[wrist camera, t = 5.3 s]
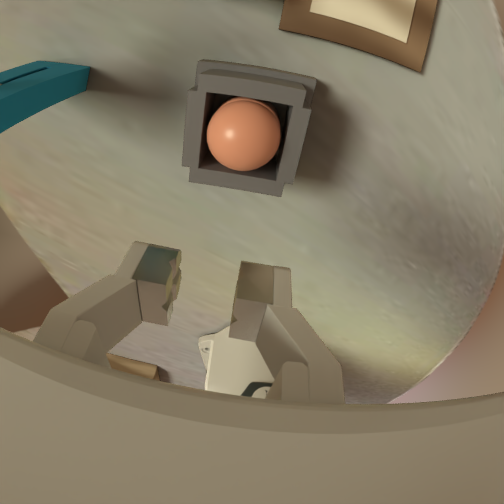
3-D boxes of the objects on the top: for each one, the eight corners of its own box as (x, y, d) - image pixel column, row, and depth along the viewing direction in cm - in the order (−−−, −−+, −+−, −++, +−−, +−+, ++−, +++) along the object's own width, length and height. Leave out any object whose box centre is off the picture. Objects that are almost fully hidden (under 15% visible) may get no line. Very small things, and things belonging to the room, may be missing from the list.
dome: (273, 158, 24) (272, 189, 20) (211, 148, 24) (196, 176, 19) (285, 99, 21) (288, 116, 17) (219, 88, 21) (204, 102, 16)
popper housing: (290, 172, 27) (294, 205, 23) (192, 156, 27) (174, 185, 22) (313, 77, 22) (325, 87, 17) (203, 59, 21) (183, 65, 17)
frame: (163, 398, 61) (160, 409, 59) (98, 381, 61) (95, 391, 58) (156, 365, 51) (153, 379, 49) (80, 344, 51) (74, 357, 48)
